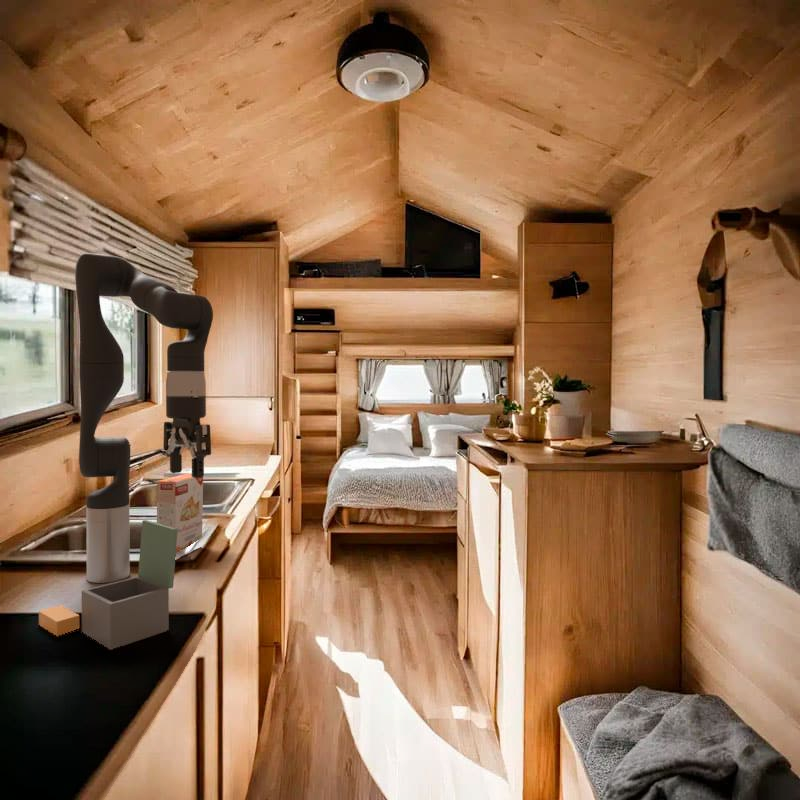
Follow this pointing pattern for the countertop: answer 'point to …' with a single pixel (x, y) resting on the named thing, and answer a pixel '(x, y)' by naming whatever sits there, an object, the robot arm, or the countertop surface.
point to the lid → (157, 553)
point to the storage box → (125, 611)
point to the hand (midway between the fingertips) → (186, 474)
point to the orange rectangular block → (58, 620)
